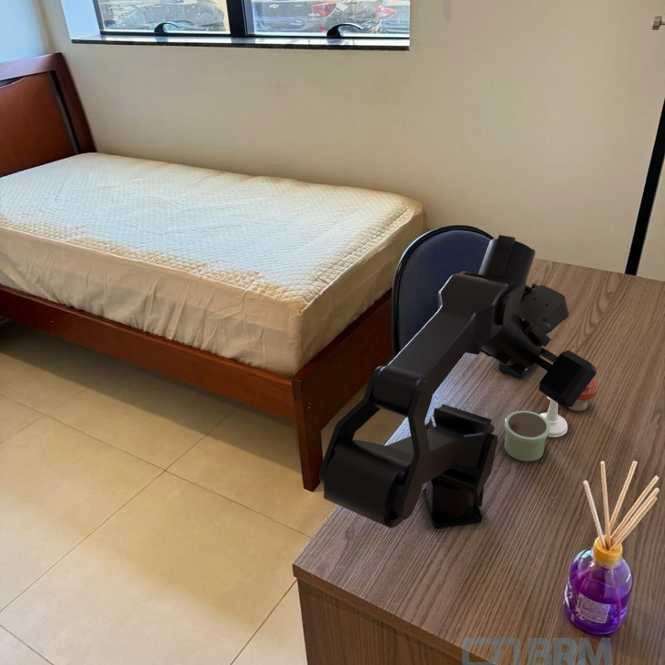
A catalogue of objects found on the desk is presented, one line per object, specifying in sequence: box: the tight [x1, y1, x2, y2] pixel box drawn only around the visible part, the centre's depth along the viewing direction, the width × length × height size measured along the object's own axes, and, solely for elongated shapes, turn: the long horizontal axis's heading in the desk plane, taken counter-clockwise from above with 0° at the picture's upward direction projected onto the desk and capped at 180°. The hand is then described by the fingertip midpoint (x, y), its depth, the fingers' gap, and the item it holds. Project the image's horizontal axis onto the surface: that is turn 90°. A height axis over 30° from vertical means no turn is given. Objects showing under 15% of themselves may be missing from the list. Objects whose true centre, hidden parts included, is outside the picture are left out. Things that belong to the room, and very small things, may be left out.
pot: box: [503, 410, 550, 462], centre depth 88 cm, size 6×6×5 cm
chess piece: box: [538, 396, 568, 438], centre depth 90 cm, size 5×5×10 cm
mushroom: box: [568, 378, 599, 412], centre depth 95 cm, size 5×5×5 cm
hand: (550, 372), depth 86 cm, fingers open, 9 cm apart
